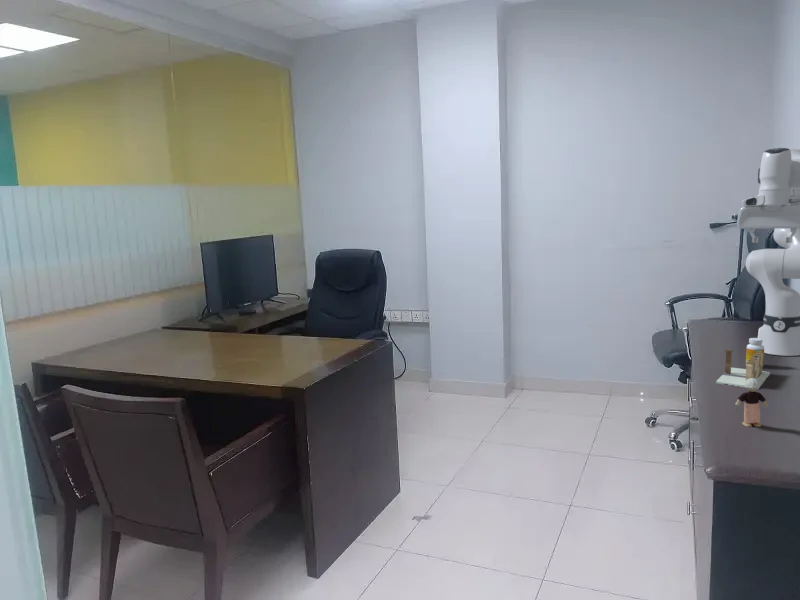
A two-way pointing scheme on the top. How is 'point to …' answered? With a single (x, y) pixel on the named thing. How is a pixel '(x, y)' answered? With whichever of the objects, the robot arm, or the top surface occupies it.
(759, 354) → the fence fixed
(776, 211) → the robot arm
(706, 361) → the top surface
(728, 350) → the corner post
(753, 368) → the notched wooden plank
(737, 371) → the card
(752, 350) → the supplement bottle
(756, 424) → the grandmother figurine
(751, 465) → the top surface
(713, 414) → the top surface
